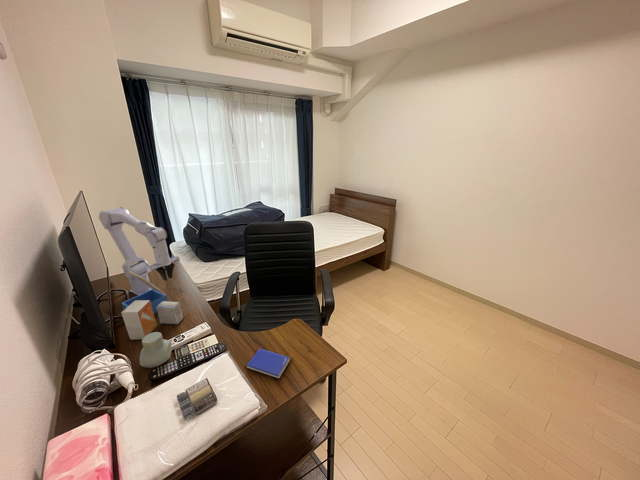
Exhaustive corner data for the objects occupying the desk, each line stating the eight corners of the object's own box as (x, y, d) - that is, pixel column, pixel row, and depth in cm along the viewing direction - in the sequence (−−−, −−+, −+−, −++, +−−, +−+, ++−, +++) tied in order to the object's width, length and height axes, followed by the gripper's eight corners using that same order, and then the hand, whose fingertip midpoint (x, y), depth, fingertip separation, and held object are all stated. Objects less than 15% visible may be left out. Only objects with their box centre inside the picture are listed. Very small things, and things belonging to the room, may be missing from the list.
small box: (146, 339, 99) (137, 312, 95) (129, 339, 99) (120, 312, 95) (157, 325, 107) (150, 299, 102) (142, 326, 107) (134, 300, 102)
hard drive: (289, 356, 89) (259, 347, 93) (278, 375, 82) (246, 364, 86) (290, 360, 90) (260, 351, 94) (278, 379, 83) (247, 368, 87)
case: (138, 322, 109) (134, 311, 107) (124, 313, 114) (121, 303, 112) (168, 305, 120) (166, 295, 118) (155, 298, 126) (152, 288, 123)
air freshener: (168, 367, 87) (162, 345, 83) (140, 375, 84) (132, 352, 81) (173, 345, 96) (167, 324, 93) (148, 351, 94) (141, 330, 90)
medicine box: (183, 318, 111) (179, 301, 108) (177, 324, 107) (173, 308, 104) (167, 317, 112) (162, 300, 109) (160, 323, 108) (155, 307, 105)
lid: (142, 278, 107) (143, 277, 108) (128, 272, 113) (129, 271, 113) (165, 295, 118) (166, 294, 118) (151, 288, 123) (152, 287, 123)
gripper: (150, 261, 111) (157, 287, 116) (181, 249, 122) (186, 274, 127) (141, 258, 114) (148, 284, 119) (172, 247, 126) (178, 271, 131)
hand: (167, 278), depth 123 cm, fingers closed
